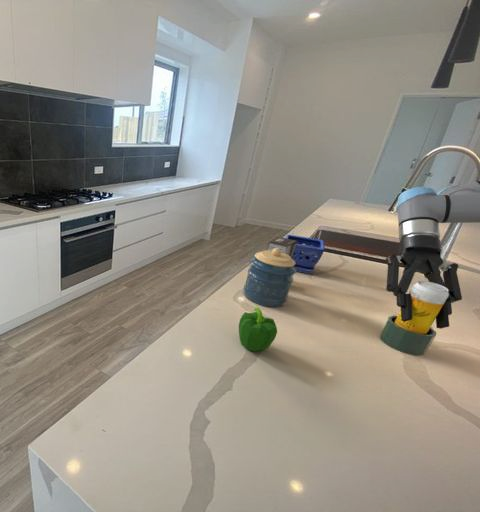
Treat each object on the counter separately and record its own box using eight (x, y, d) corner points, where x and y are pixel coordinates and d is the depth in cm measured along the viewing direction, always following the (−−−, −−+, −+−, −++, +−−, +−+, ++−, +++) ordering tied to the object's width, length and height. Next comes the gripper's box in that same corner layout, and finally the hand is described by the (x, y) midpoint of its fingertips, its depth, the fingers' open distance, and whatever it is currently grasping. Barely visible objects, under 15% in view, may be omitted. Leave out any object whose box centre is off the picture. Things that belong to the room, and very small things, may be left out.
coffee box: (267, 274, 116) (278, 235, 110) (285, 281, 112) (298, 240, 105) (257, 281, 110) (268, 240, 104) (276, 288, 106) (289, 246, 100)
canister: (246, 284, 108) (258, 238, 101) (287, 295, 101) (303, 247, 94) (238, 299, 98) (251, 249, 91) (283, 312, 91) (301, 260, 84)
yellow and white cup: (384, 327, 81) (408, 279, 75) (408, 330, 81) (435, 281, 75) (402, 342, 76) (429, 290, 70) (428, 345, 75) (459, 293, 69)
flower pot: (276, 268, 122) (284, 241, 117) (279, 258, 132) (286, 233, 127) (315, 277, 115) (325, 249, 110) (315, 266, 125) (324, 240, 120)
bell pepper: (273, 360, 71) (284, 325, 68) (236, 351, 74) (245, 317, 70) (267, 339, 79) (277, 307, 75) (234, 332, 81) (242, 300, 77)
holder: (414, 339, 81) (424, 320, 79) (432, 359, 74) (444, 340, 71) (374, 330, 84) (382, 312, 82) (388, 349, 77) (398, 330, 74)
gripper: (454, 252, 80) (464, 336, 73) (367, 240, 87) (367, 317, 79) (479, 239, 74) (492, 331, 66) (382, 228, 80) (384, 310, 72)
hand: (424, 323), depth 73 cm, fingers closed on yellow and white cup, 6 cm apart
